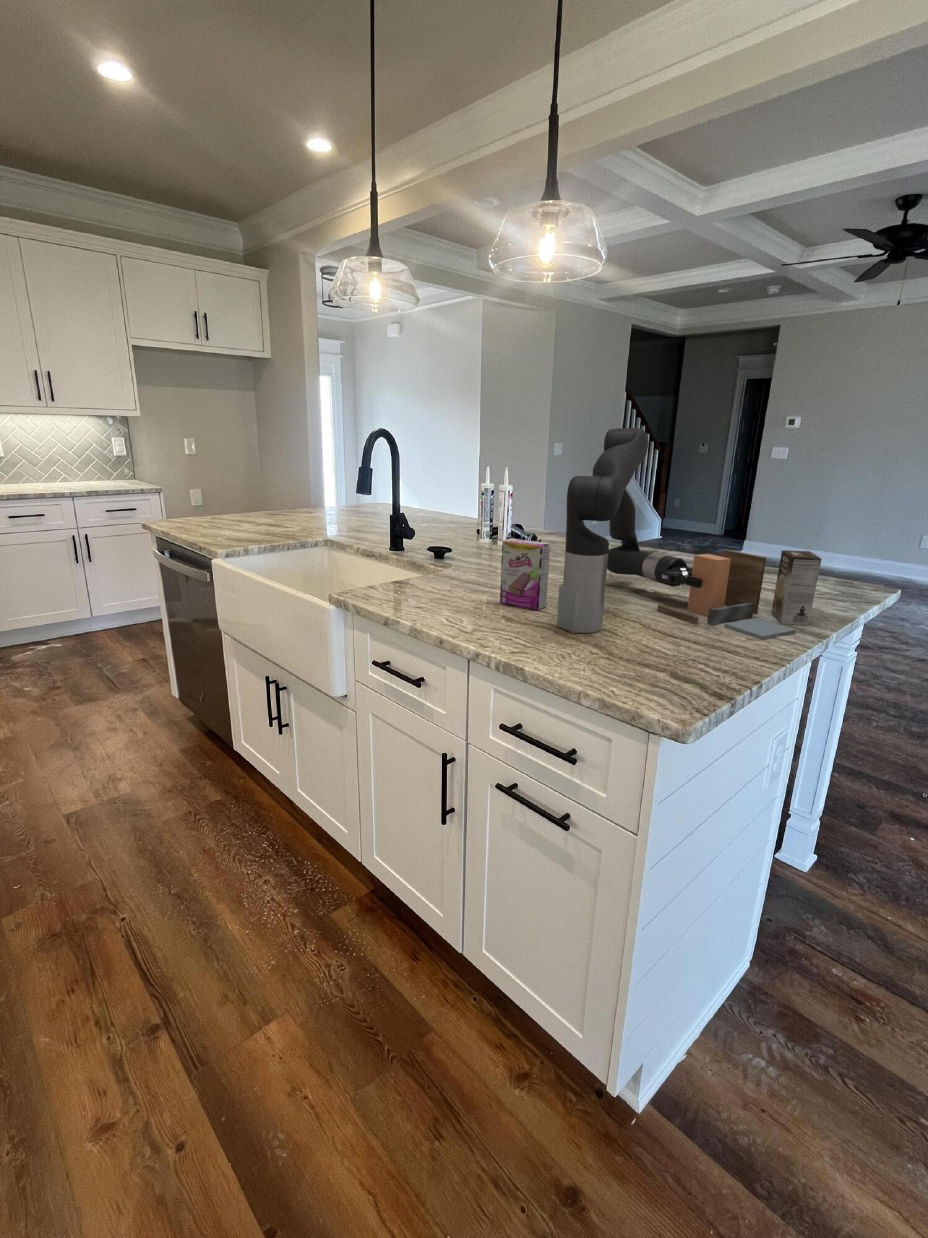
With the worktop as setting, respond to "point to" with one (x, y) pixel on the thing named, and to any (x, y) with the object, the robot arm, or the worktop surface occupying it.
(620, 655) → the worktop surface
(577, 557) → the robot arm
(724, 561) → the orange block
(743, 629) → the mat
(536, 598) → the candy bar box
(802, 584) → the coffee box
